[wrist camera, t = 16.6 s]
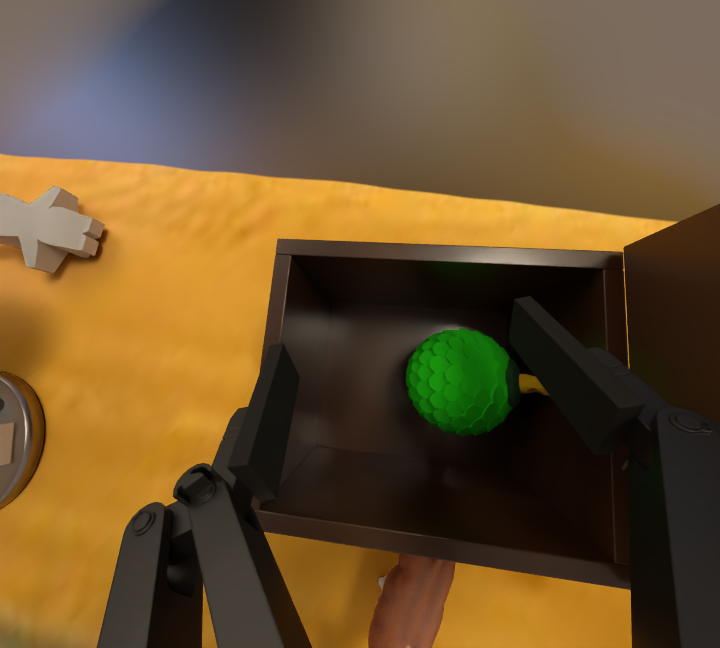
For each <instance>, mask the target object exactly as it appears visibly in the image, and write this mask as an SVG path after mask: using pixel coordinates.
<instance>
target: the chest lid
mask: <svg viewBox="0 0 720 648" xmlns="http://www.w3.org/2000/svg"><path fill="white" fill-rule="evenodd" d="M624 266H625V285H626V305H627V325H628V344H629V364H630V370H631V371H632V372H633V374H636V375H637V376H638V377H639V378H640V379H642V380H643V381H644V382H645V383H646V384H647V385H649V386H650V387H651V388H652V389H653V390H654V391H656V392H657V393H658V394H659V395H660V396H661V397H662V398H664V399H665V400H666V401H667V402H668V403H670V404H671V405H672V406H675V407H682V408H685V409H688V410H691V411H694V412H696V413H698V414H700V415H702V416H703V417H705V418H707V419H708V420H710V421H718V422H720V204H718V205H716V206H714V207H712V208H710V209H707V210H705V211H703V212H701V213H698V214H696V215H694V216H692V217H689V218H687V219H685V220H683V221H681V222H678V223H676V224H674V225H672V226H669V227H667V228H665V229H663V230H661V231H658V232H656V233H654V234H652V235H649V236H647V237H645V238H643V239H640V240H638V241H636V242H634V243H632V244H629V245H627V246H625V247H624Z"/></svg>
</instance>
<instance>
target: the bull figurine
mask: <svg viewBox="0 0 720 648" xmlns="http://www.w3.org/2000/svg"><path fill="white" fill-rule="evenodd" d="M454 571H455V562H452V561H446V560H440V559H433V558H427V557H421V556H414V555H408V554H402V553H400V555H399V560H398V565H397V566H395V567H394V568H393V569H392V570H391V571H390V572H389V574H388V575H387V576H386V575H384V577H380V578H379V579H378V585H379V586H380V588H381V589H382V593H381V595H380V597H379V600H378V604H377V606H376V608H375V611H374V615H373V619H372V622H371V625H370V630H369V638H368V645H369V648H432V645H433V643H434V640H435V637H436V635H437V632H438V630H439V627H440V624H441V620H442V616H443V610H444V603H445V601H446V598H447V595H448V593H449V590H450V587H451V584H452V581H453V577H454Z"/></svg>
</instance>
